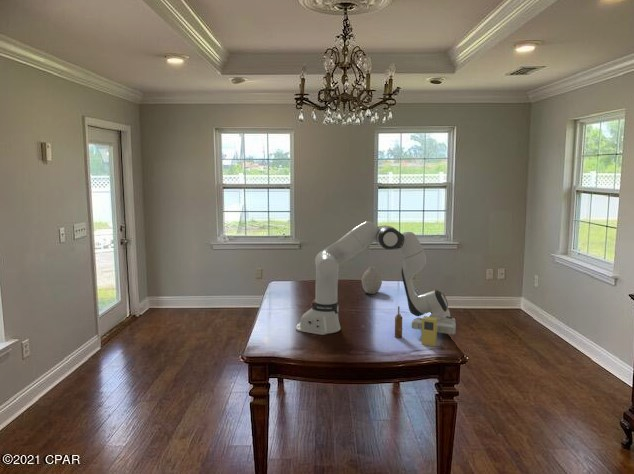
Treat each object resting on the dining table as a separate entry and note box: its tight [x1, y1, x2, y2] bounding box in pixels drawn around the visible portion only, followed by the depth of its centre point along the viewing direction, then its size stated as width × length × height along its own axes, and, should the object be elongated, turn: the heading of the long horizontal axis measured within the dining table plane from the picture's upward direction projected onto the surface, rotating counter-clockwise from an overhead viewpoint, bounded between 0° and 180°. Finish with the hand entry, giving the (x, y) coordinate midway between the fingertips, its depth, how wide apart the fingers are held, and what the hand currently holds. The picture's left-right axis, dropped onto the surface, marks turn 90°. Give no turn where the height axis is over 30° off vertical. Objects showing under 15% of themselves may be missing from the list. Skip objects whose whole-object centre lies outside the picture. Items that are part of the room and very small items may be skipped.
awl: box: [394, 306, 403, 339], centre depth 225 cm, size 3×3×15 cm
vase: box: [361, 266, 383, 295], centre depth 309 cm, size 13×13×17 cm
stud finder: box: [421, 315, 438, 347], centre depth 217 cm, size 4×6×12 cm
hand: (430, 331), depth 219 cm, fingers closed, pressing on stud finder
